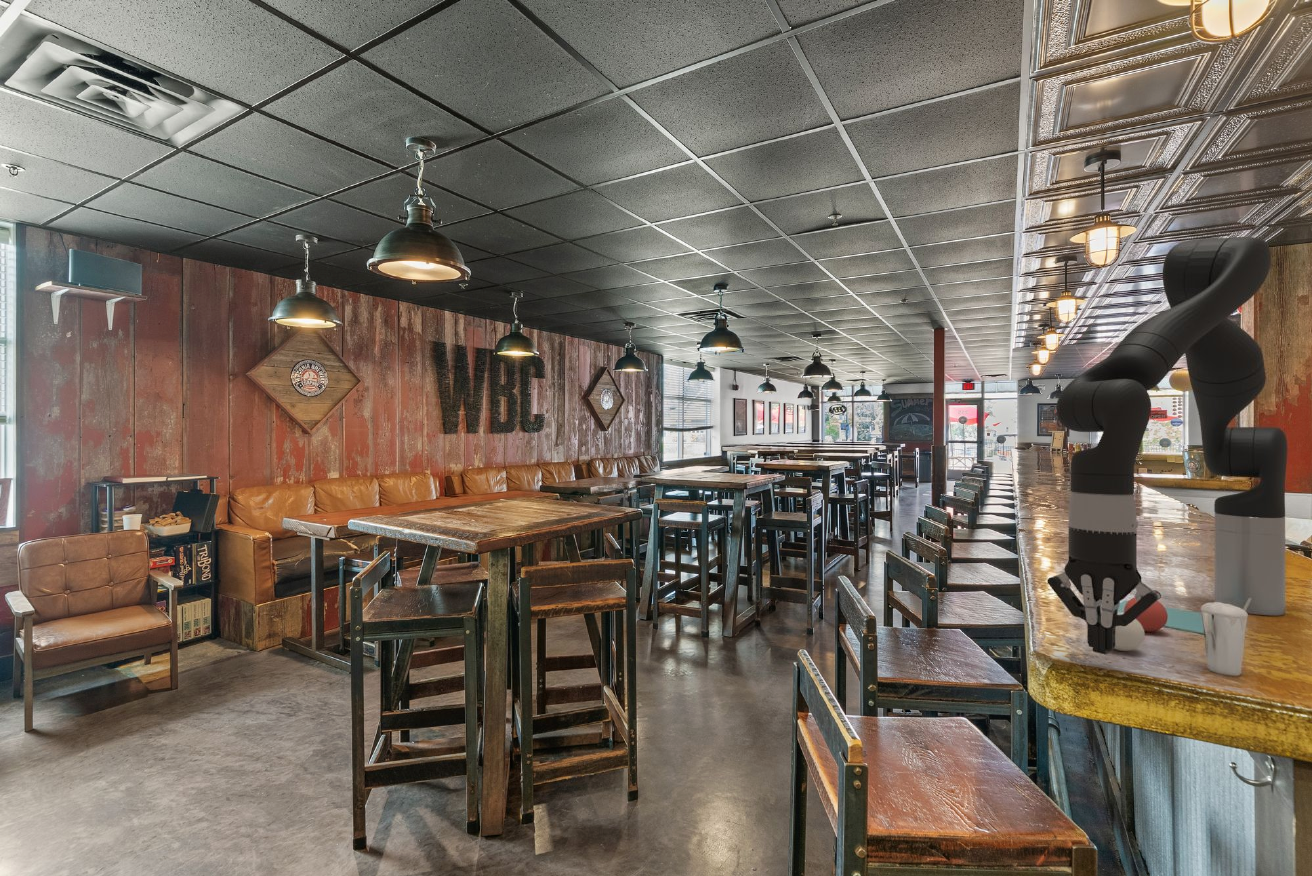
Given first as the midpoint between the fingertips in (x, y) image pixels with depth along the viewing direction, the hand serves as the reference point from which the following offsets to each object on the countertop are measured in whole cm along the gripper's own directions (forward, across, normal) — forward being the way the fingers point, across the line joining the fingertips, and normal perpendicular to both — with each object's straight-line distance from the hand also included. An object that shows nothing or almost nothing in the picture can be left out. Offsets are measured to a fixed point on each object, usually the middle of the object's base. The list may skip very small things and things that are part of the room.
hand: (1101, 651), depth 82 cm
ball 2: (-1, 0, +24) cm, 24 cm away
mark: (+2, 0, +36) cm, 36 cm away
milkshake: (+2, +11, +11) cm, 16 cm away
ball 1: (-1, 0, +10) cm, 10 cm away
